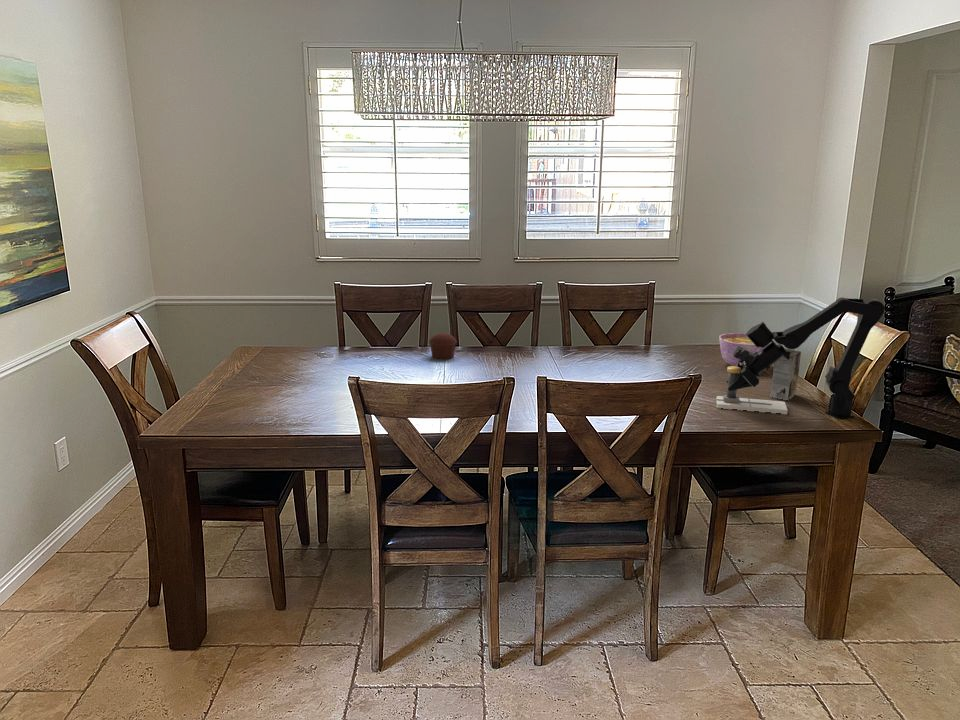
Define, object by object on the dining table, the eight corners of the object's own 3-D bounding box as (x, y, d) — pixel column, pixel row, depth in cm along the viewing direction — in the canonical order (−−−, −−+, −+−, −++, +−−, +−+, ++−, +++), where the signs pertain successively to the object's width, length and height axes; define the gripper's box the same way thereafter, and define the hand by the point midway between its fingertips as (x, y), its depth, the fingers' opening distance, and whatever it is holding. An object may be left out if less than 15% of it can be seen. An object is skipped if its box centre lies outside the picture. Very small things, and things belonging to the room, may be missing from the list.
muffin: (424, 358, 304) (424, 335, 301) (435, 352, 314) (435, 329, 311) (451, 361, 300) (450, 337, 297) (461, 355, 310) (461, 332, 307)
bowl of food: (708, 360, 304) (711, 333, 301) (755, 359, 306) (758, 332, 303) (728, 373, 285) (730, 345, 282) (777, 373, 287) (781, 344, 284)
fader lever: (738, 398, 250) (741, 366, 247) (739, 402, 246) (742, 370, 243) (723, 397, 251) (726, 365, 248) (723, 401, 247) (726, 369, 244)
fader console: (784, 405, 249) (784, 401, 248) (787, 414, 240) (787, 409, 240) (714, 399, 254) (715, 395, 254) (715, 408, 246) (715, 403, 246)
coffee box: (777, 391, 264) (783, 348, 260) (796, 394, 260) (802, 351, 256) (769, 397, 258) (774, 353, 253) (788, 401, 254) (793, 356, 249)
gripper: (748, 333, 250) (711, 361, 256) (751, 346, 233) (712, 376, 239) (769, 357, 250) (732, 385, 256) (775, 372, 233) (735, 401, 239)
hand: (728, 386), depth 248 cm, fingers open, 8 cm apart
